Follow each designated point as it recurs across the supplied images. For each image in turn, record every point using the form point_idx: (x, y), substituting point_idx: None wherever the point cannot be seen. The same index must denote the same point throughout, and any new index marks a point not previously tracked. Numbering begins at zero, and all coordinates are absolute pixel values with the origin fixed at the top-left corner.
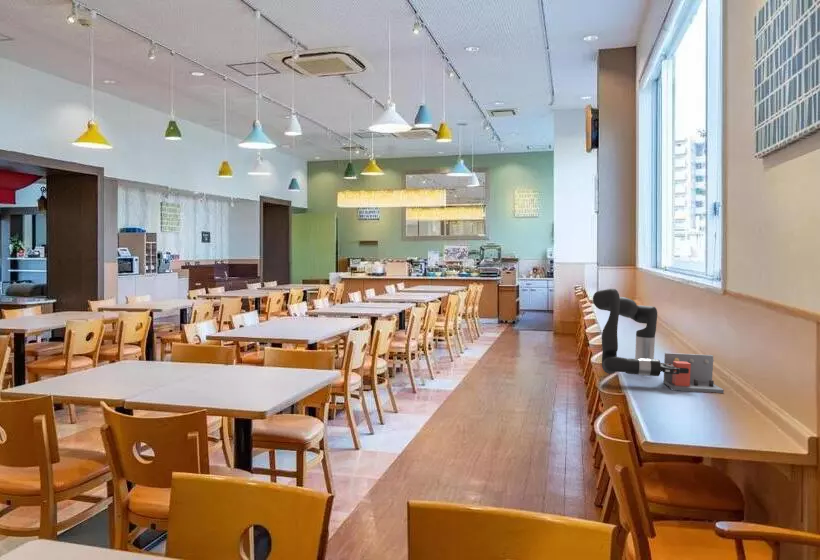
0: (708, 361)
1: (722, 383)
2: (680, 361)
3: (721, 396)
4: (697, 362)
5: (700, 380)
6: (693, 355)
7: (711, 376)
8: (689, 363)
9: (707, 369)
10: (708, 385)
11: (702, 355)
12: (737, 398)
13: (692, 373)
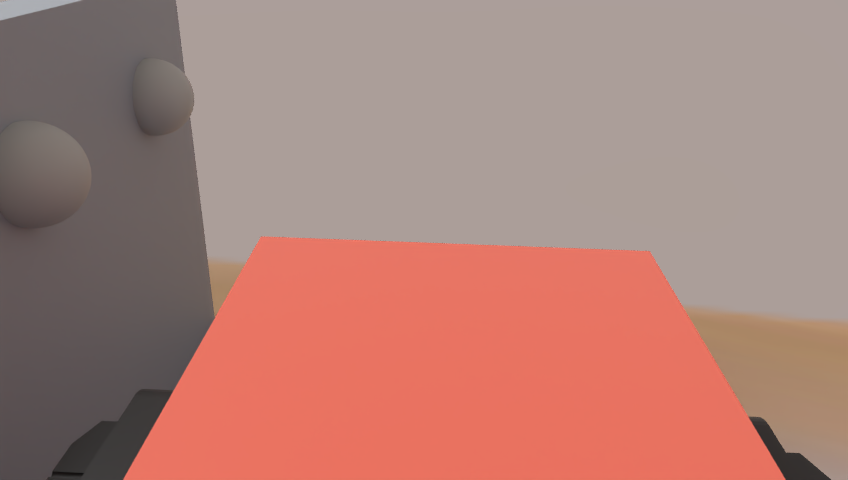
0: (187, 81)
1: None
2: (248, 345)
3: (834, 430)
4: (93, 156)
5: (165, 387)
6: (18, 36)
7: (204, 260)
8: (589, 257)
9: (173, 200)
10: None
11: (104, 2)
12: (819, 342)
13: (92, 379)
